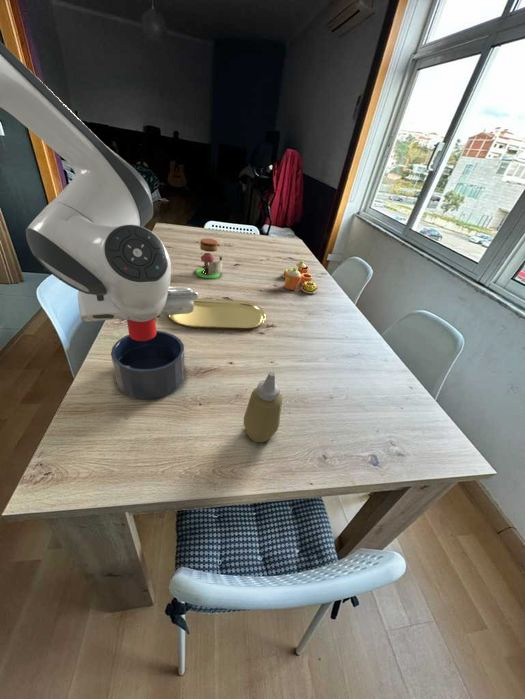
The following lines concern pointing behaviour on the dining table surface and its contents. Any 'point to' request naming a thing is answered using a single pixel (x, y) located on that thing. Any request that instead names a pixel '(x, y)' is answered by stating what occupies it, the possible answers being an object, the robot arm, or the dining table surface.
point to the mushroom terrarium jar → (209, 260)
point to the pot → (149, 365)
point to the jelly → (142, 329)
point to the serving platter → (221, 315)
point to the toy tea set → (299, 278)
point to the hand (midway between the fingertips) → (140, 314)
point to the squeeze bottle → (263, 410)
